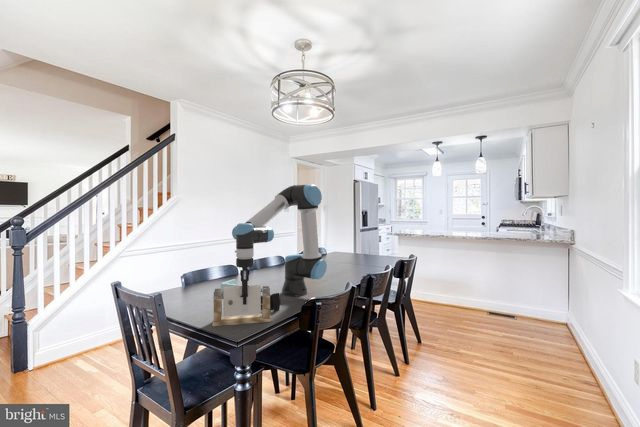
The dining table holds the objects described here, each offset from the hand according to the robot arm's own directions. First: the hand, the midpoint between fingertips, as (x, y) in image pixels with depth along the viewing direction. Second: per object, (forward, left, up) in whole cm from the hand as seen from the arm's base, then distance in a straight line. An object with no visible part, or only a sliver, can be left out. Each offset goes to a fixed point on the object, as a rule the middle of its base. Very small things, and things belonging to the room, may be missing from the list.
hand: (244, 309), depth 138 cm
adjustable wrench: (-10, -22, -6) cm, 25 cm away
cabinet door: (+1, 0, -2) cm, 2 cm away
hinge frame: (+1, 0, -5) cm, 5 cm away
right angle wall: (+5, -48, -6) cm, 49 cm away
